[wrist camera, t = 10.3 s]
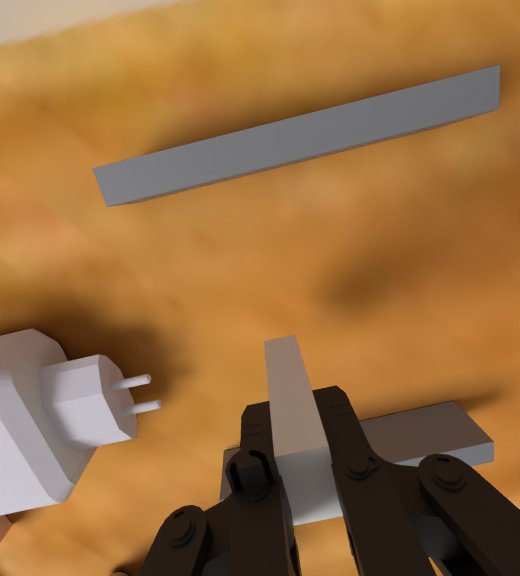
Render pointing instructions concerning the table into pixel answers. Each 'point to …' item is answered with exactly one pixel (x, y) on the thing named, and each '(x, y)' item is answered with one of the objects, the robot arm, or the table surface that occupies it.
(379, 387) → the table surface
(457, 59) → the table surface
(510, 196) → the table surface
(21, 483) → the charger
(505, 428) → the table surface
